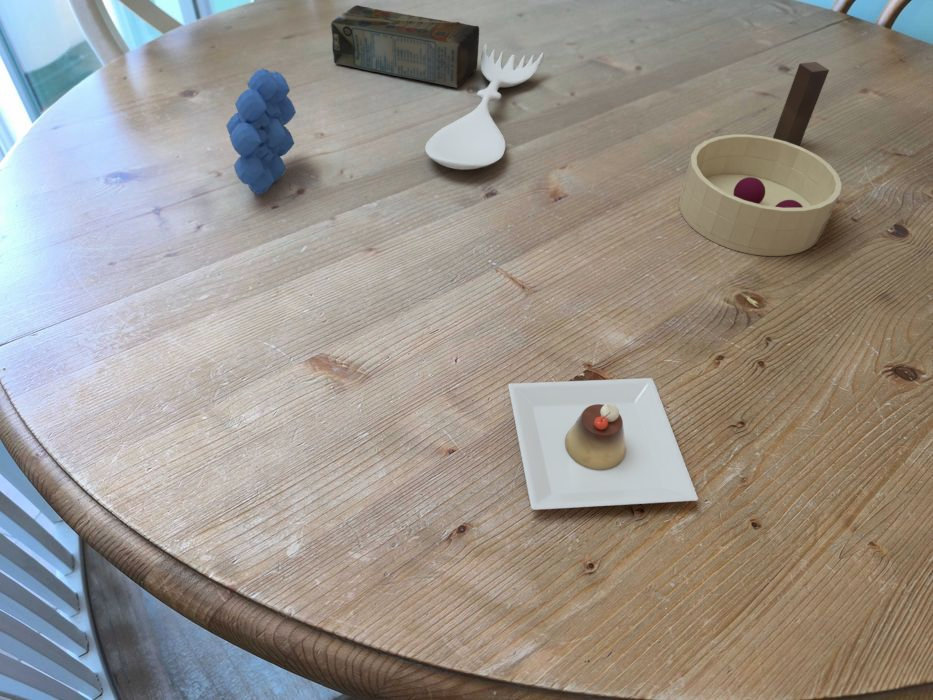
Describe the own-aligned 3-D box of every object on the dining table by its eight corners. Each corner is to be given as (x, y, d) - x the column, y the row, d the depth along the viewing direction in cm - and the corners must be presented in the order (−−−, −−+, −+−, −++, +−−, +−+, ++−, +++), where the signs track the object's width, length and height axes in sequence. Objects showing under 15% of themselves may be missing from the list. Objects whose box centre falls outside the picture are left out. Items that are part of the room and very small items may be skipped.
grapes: (259, 149, 87) (242, 46, 79) (313, 159, 86) (302, 55, 78) (210, 202, 79) (185, 93, 71) (270, 213, 78) (252, 104, 70)
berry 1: (754, 175, 82) (771, 198, 81) (728, 193, 83) (745, 216, 82) (753, 167, 79) (771, 191, 78) (726, 185, 80) (743, 209, 79)
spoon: (544, 73, 106) (547, 49, 103) (491, 189, 83) (494, 161, 81) (482, 64, 107) (483, 39, 105) (414, 175, 84) (414, 147, 82)
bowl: (764, 169, 89) (780, 126, 85) (852, 242, 79) (874, 197, 75) (653, 188, 85) (664, 144, 81) (730, 267, 75) (746, 221, 71)
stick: (786, 139, 95) (816, 61, 88) (798, 148, 93) (829, 69, 86) (771, 141, 94) (799, 63, 87) (783, 151, 92) (812, 72, 85)
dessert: (529, 518, 52) (537, 477, 49) (506, 392, 61) (511, 350, 58) (694, 509, 54) (713, 468, 50) (649, 387, 62) (662, 345, 59)
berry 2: (785, 217, 80) (796, 191, 78) (805, 234, 78) (816, 208, 76) (761, 222, 79) (770, 196, 77) (779, 239, 77) (790, 213, 75)
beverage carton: (357, 44, 110) (354, -3, 105) (480, 69, 106) (483, 21, 101) (331, 65, 104) (328, 16, 100) (460, 92, 100) (462, 43, 96)
